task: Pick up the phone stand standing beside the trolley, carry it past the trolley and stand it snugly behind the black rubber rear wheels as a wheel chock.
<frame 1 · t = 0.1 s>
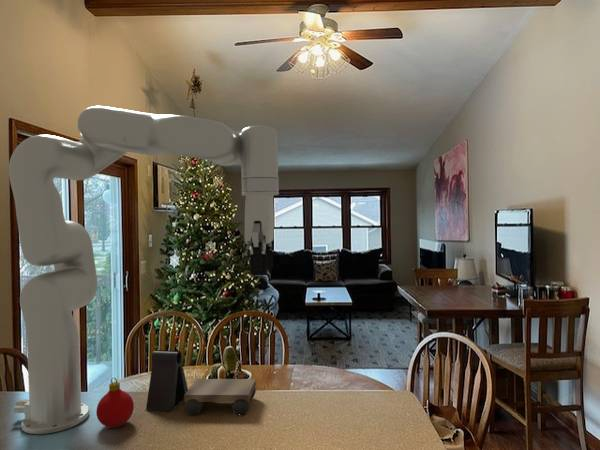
hand: (262, 271, 89), 31 cm above the kitchen counter, fingers open, 9 cm apart
christmas ornament: (116, 426, 90), on the kitchen counter
trolley: (221, 396, 98), point 2 cm above the kitchen counter, slide at 0.0 cm
phone stand: (168, 403, 100), on the kitchen counter
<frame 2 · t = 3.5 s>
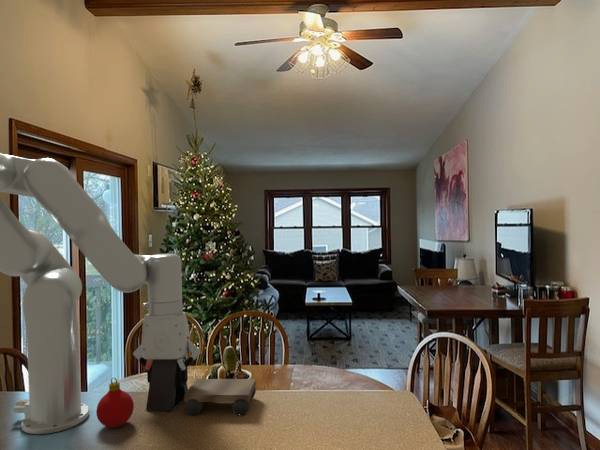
hand: (167, 384, 100), 4 cm above the kitchen counter, fingers closed on phone stand, 6 cm apart
phone stand: (168, 403, 100), on the kitchen counter, touching gripper
everything else where it was.
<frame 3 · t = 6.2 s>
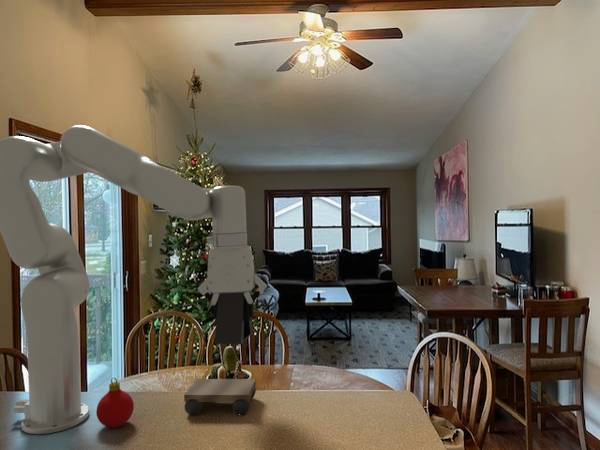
hand: (233, 320, 98), 19 cm above the kitchen counter, fingers closed on phone stand, 6 cm apart
phone stand: (234, 339, 98), point 15 cm above the kitchen counter, touching gripper
everything else where it was.
when the fingers open (5 cm above the kitchen counter, at t = 9.1 s): phone stand stays where it is, on the kitchen counter.
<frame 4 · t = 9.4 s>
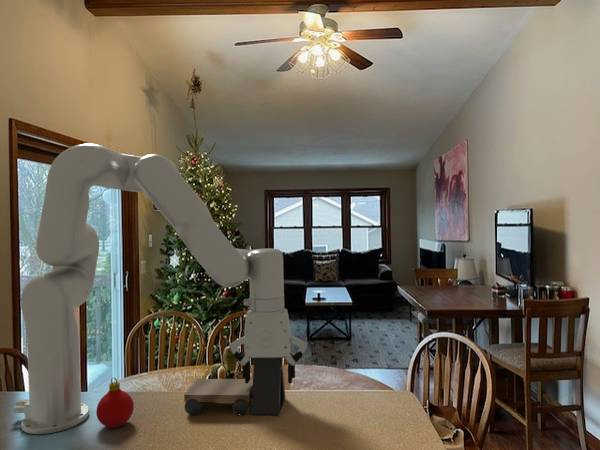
hand: (269, 381, 97), 6 cm above the kitchen counter, fingers open, 9 cm apart
phone stand: (269, 407, 97), on the kitchen counter
everything else where it was.
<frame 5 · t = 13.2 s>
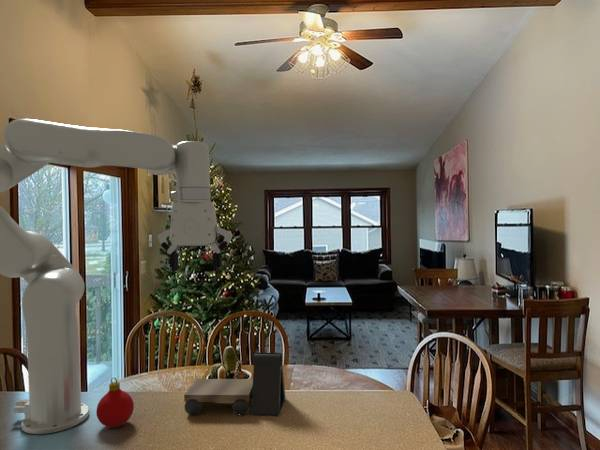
hand: (195, 270, 100), 30 cm above the kitchen counter, fingers open, 9 cm apart
nothing on the kitchen counter moved.
at the end: phone stand 0.8 cm from the target spot, on the kitchen counter; phone stand tilted 0°; trolley slide at 0.0 cm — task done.
